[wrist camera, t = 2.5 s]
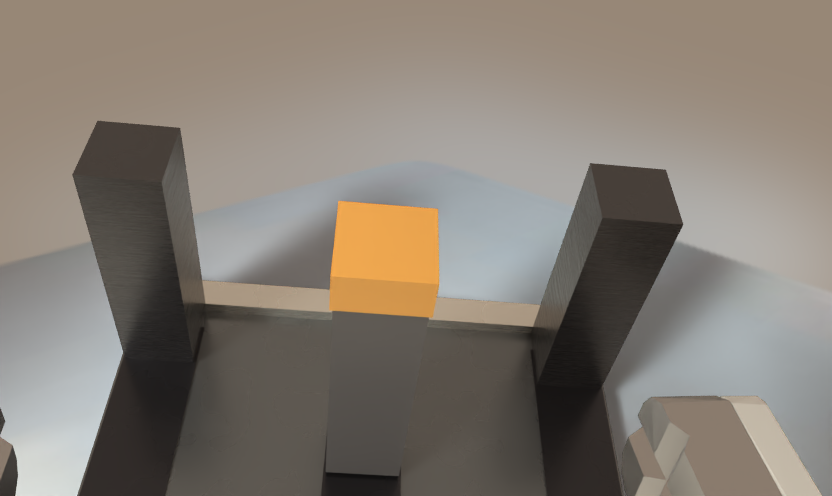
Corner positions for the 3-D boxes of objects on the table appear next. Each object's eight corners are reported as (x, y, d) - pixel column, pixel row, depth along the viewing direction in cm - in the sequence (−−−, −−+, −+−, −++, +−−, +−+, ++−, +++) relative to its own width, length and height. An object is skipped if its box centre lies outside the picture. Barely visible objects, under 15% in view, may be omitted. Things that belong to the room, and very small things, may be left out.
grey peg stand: (42, 648, 28) (-83, 490, 19) (150, 302, 39) (103, 95, 30) (640, 672, 30) (790, 535, 20) (582, 332, 40) (662, 145, 31)
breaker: (322, 474, 32) (330, 276, 23) (329, 405, 34) (338, 200, 25) (401, 478, 32) (439, 284, 23) (402, 410, 34) (437, 208, 25)
